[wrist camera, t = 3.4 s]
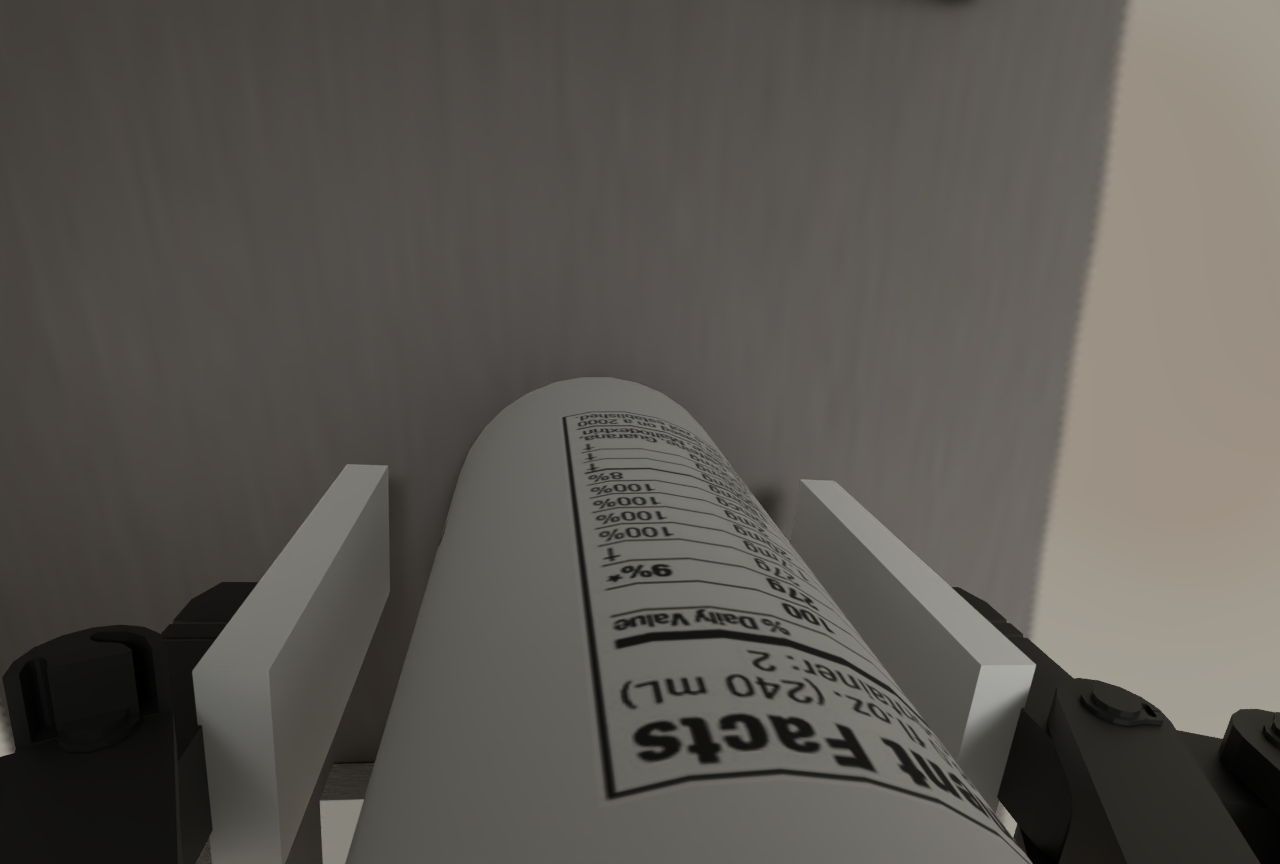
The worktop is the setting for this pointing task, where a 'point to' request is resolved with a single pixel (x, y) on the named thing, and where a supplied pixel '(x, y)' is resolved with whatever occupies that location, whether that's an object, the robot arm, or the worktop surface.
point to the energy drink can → (645, 672)
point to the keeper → (342, 808)
